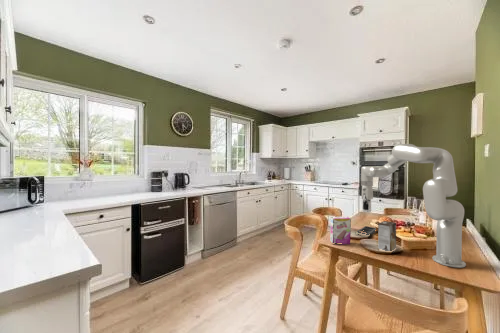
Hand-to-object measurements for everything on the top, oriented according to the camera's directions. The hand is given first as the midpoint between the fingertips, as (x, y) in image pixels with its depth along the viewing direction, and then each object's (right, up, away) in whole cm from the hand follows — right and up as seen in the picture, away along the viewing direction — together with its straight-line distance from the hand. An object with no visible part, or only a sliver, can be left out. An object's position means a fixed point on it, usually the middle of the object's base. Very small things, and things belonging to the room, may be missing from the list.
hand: (366, 208), depth 161 cm
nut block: (0, -2, 0) cm, 2 cm away
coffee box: (-5, -18, -32) cm, 38 cm away
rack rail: (0, -17, 0) cm, 17 cm away
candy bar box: (-27, -18, -20) cm, 38 cm away
